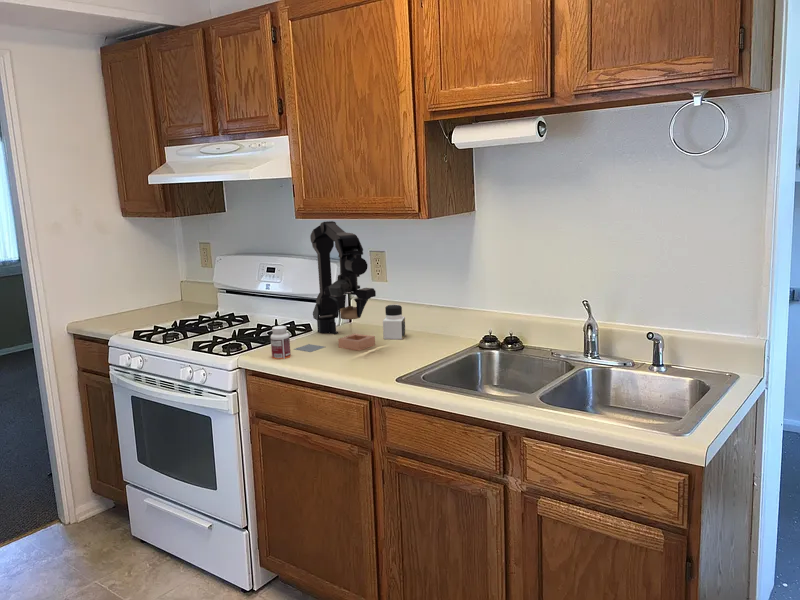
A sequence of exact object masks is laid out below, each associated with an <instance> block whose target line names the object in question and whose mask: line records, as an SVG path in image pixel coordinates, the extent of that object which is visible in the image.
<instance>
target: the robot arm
mask: <svg viewBox="0 0 800 600" xmlns="http://www.w3.org/2000/svg"><path fill="white" fill-rule="evenodd" d="M309 237H310V238H309V239H310V242H311V245H312V249H313V250H314V251H315V252H316V255H317V256H316V257H317V267H318V268H317V270H318V282H319V293H318V295H317V296H316V299H315V306H314V308H313V311H312V315H313V319H314V320H315V321H316V323H317V333H320V334H329V335H330V334H331V335H335V334H338V333H339V331H338V330H337V322H336V319H338V318H339V315H340V309H341V308H344V307H346V300H347V295H353V296H356V298H354V299H353V301H355V304H356V307H357V316H358V319H360V318H362V314H363V313H364V310H365V309H364V308H365V306H366V304H367V302H368V300H370V299H371V298H373V297H374V298H375V297H376V296H377V295H376V294H377V293H376V289H375V288H373V287H363V288H361V285H359V284H358V278H360V276H361V275H364V274H365V273H366V272H367V269H368V263H367V260H365V258H362V256H363V255H364V252H363V251H364V248H363V246H362V243H361V241H360V239H359V237H358V236H357V235H356V234H355V233H352V232H346V231H345V230H344V229H342V228H341V227H340V226H339V225H338V224H337V222H336V221H334V220H331V221H330V220H329V221H326V220H325V221H323V222H321V223H320V224H319V225H318V226H317V227H315V228H314V229H312V231H311V234H310V236H309ZM334 248H335V250H336V251H337V253H338V258H339V273H340V274H338V275H337V279H336V281H334V282H332V268H331V266H332V265H331V252H332V250H333V249H334ZM359 317H360V318H359Z"/></svg>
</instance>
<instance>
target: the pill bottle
mask: <svg viewBox="0 0 800 600" xmlns="http://www.w3.org/2000/svg"><path fill="white" fill-rule="evenodd" d="M271 331H272V334H271V335H270V345H271V347H270V348H271V358H272V359H274V360H284V359H288V358H291V356H292V355H291V353H292V352H291V341H290V334H289V333H288V332H287V326H286V325H277V326H276V325H275V326H273V327H272V329H271Z"/></svg>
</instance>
